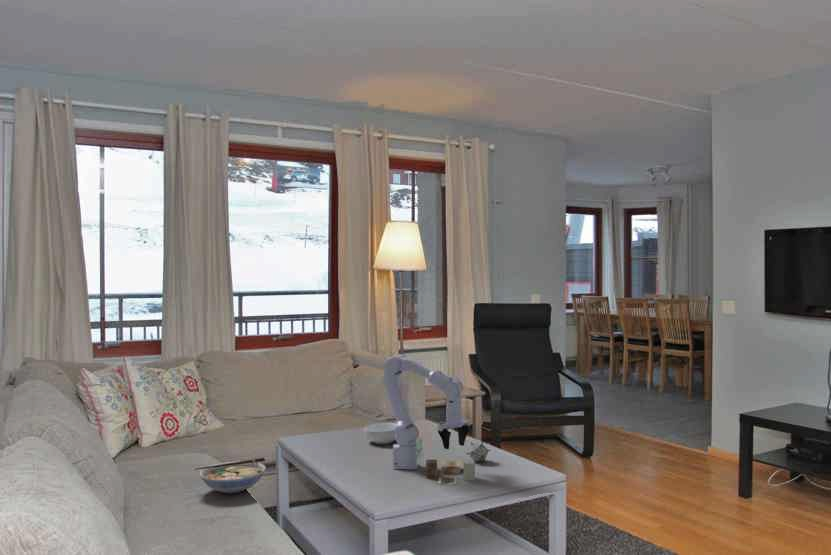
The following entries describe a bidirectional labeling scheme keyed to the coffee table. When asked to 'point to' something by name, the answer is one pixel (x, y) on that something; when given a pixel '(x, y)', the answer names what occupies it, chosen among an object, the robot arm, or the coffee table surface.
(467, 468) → the sage green block
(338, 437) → the coffee table surface
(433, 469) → the walnut block
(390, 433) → the cereal bowl
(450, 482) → the swatch
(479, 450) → the game die
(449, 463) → the oak base block
